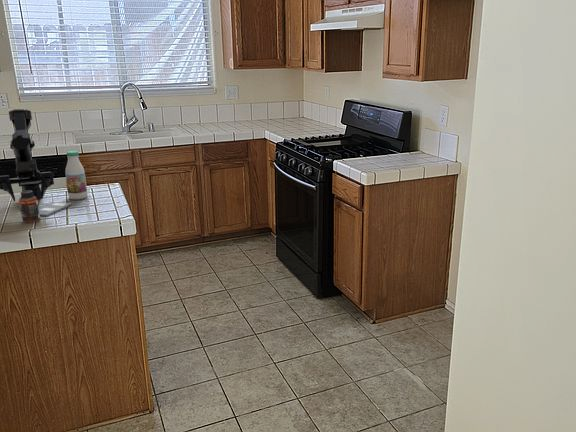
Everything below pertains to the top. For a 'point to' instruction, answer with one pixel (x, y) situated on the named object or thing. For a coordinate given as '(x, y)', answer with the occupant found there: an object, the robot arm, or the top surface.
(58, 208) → the label panel
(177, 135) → the top surface
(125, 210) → the top surface
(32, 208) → the supplement bottle
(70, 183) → the milk bottle
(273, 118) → the top surface
